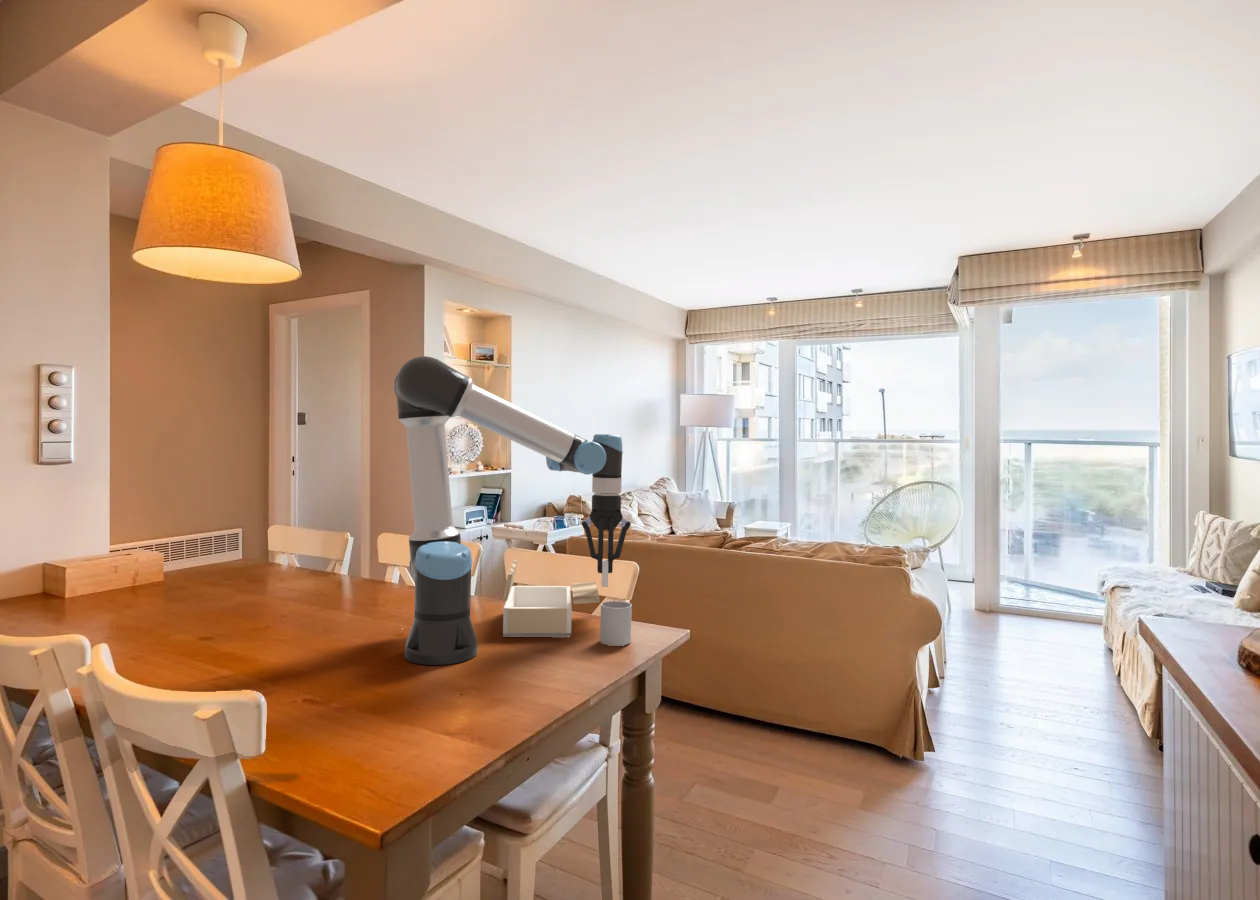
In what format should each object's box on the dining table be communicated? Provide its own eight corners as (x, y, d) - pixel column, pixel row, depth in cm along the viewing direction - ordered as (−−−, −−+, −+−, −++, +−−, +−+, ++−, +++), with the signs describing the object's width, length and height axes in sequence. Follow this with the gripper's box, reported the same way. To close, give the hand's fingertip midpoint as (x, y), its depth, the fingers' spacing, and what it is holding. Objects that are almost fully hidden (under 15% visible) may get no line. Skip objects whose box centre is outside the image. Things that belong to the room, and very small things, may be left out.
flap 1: (512, 574, 158) (508, 573, 158) (507, 600, 158) (502, 600, 158) (517, 560, 177) (513, 559, 177) (512, 584, 177) (509, 583, 177)
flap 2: (573, 600, 160) (573, 604, 160) (599, 598, 160) (599, 602, 161) (571, 583, 179) (572, 587, 179) (595, 581, 179) (595, 585, 179)
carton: (571, 638, 157) (571, 608, 157) (502, 638, 155) (503, 608, 155) (569, 611, 182) (570, 585, 182) (510, 611, 180) (511, 585, 180)
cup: (594, 644, 153) (595, 605, 152) (613, 633, 162) (614, 597, 162) (622, 649, 149) (623, 609, 149) (640, 638, 159) (641, 600, 158)
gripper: (630, 493, 174) (628, 582, 175) (580, 492, 173) (578, 582, 173) (633, 495, 167) (631, 588, 167) (581, 494, 166) (579, 588, 166)
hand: (604, 585), depth 170 cm, fingers closed
